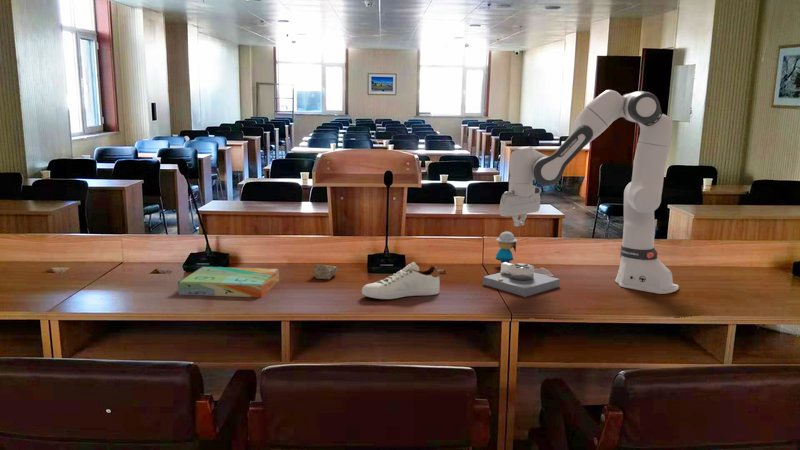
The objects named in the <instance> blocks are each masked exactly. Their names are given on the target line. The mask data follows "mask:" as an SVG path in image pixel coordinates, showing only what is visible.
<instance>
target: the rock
mask: <svg viewBox="0 0 800 450" xmlns="http://www.w3.org/2000/svg"><path fill="white" fill-rule="evenodd" d="M312 269H313V272H312V273H313V274H314V276H315V278H316V279H317V280H330V279H331V278H332V277H333V276H334V275H335V274H336V272H338V271H339V268H338V266H334V265H329V264H328V265H324V264H314V265H313V266H312Z"/></svg>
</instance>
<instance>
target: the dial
mask: <svg viewBox="0 0 800 450" xmlns="http://www.w3.org/2000/svg"><path fill="white" fill-rule="evenodd" d="M500 271H501V272H504V273H508V274H509V277H510V278H512V279H516V280H531V279H533V278H534V273H535V266H534V265H532V264H529V263H522V262H521V263H507V262H503V263H501V262H500Z"/></svg>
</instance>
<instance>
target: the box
mask: <svg viewBox="0 0 800 450" xmlns="http://www.w3.org/2000/svg"><path fill="white" fill-rule="evenodd" d="M279 281H280V270H279V269H278V268H263V267H262V268H260V267H257V268H255V267H254V268H253V267H229V266H228V267H227V266H226V267H223V266H220V267H219V266H200V268H198V269H196V270H194V271H193V272H192V273H190V274H188V275H187V276H185V277H184V278H182V279H181V280H179V281H178V283H177V289H178V295H181V296H182V295H184V296H185V295H186V296H213V297H215V296H216V297H218V296H219V297H239V298H240V297H242V298H243V297H245V298H263V297H264V296H265V295H266V294H267V292H269V291H270V290H271V289H272V288H273V287H274V286H275V284H277V283H278V282H279Z"/></svg>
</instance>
